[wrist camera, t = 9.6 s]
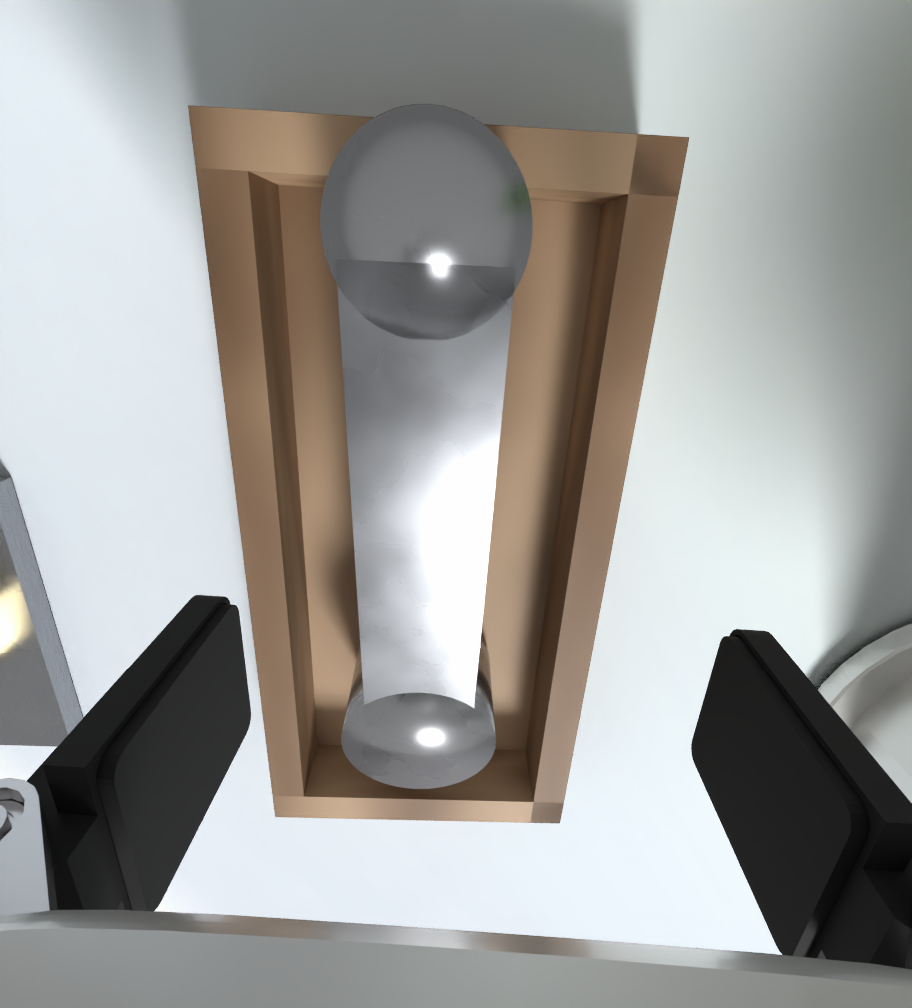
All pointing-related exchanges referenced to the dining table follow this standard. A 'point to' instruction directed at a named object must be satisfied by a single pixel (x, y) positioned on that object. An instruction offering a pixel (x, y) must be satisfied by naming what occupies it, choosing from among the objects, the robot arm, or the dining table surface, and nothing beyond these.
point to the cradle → (521, 459)
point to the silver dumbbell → (423, 424)
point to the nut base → (29, 643)
